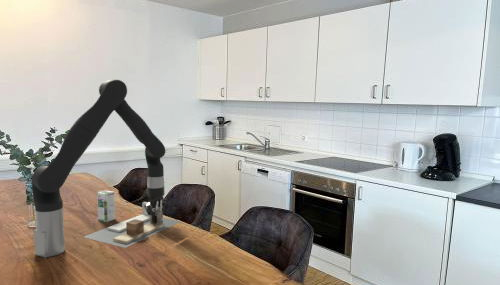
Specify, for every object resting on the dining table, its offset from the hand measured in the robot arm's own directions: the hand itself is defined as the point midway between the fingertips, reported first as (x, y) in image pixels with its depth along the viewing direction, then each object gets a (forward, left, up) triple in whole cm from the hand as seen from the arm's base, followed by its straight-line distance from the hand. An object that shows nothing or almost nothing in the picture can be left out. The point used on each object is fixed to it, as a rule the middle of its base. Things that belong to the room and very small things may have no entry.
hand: (156, 222), depth 170 cm
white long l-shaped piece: (-2, +12, -2) cm, 12 cm away
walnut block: (-14, 0, -1) cm, 14 cm away
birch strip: (-11, 0, -2) cm, 11 cm away
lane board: (-7, +6, -3) cm, 10 cm away
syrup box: (-4, +27, -3) cm, 27 cm away
